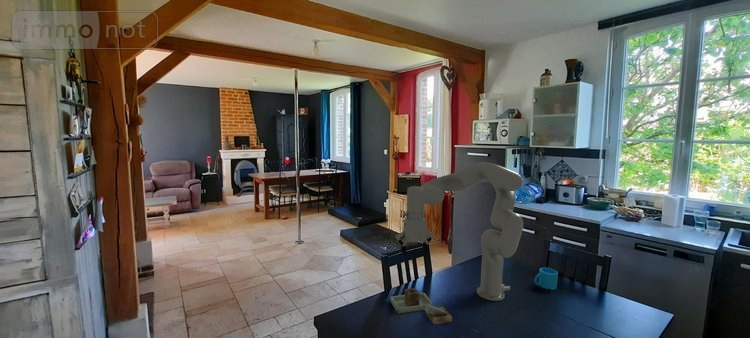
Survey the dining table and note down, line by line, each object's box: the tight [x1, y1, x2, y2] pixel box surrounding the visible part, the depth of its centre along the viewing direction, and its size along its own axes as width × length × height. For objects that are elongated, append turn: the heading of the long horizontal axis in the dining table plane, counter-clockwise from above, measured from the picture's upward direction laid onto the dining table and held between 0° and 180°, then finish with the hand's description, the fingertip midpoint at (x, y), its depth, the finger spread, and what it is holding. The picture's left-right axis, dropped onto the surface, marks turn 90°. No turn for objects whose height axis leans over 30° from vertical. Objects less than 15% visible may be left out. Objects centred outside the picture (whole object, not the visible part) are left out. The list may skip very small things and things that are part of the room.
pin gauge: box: [424, 304, 446, 317], centre depth 132 cm, size 3×3×8 cm
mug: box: [534, 267, 559, 291], centre depth 161 cm, size 12×8×8 cm
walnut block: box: [404, 287, 421, 307], centre depth 142 cm, size 5×5×6 cm
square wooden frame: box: [425, 306, 453, 325], centre depth 132 cm, size 8×8×2 cm
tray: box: [389, 292, 435, 314], centre depth 142 cm, size 17×11×2 cm, turn 105°
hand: (414, 253), depth 140 cm, fingers open, 9 cm apart
